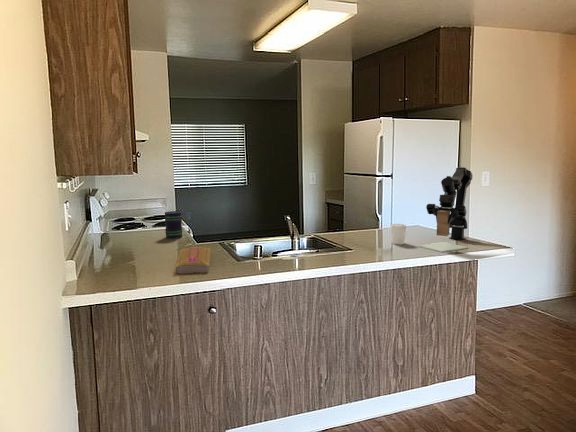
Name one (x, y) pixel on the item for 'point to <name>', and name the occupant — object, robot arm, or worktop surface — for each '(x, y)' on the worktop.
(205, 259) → the pink-topped tan slab
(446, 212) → the walnut block
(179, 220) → the storage jar
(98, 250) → the worktop surface
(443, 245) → the sage placemat
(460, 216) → the robot arm
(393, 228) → the white cup
